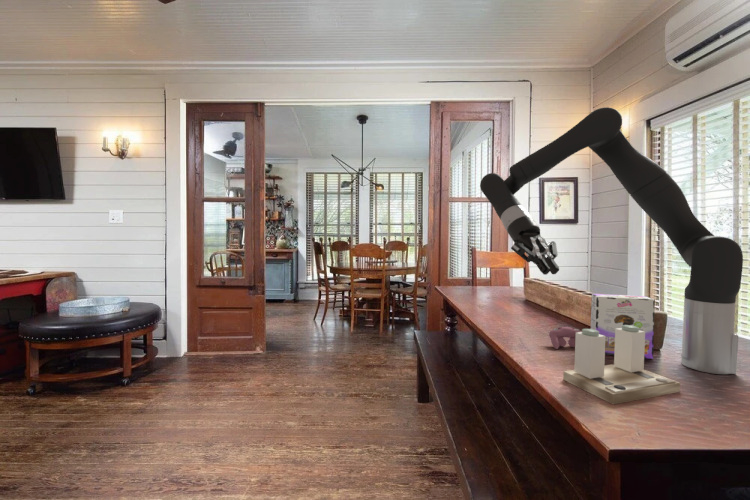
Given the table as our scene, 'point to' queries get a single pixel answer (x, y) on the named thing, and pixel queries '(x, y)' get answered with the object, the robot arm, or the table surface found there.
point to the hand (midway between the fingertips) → (551, 272)
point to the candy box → (623, 318)
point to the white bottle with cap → (589, 353)
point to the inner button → (629, 348)
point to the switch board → (623, 384)
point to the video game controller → (561, 332)
